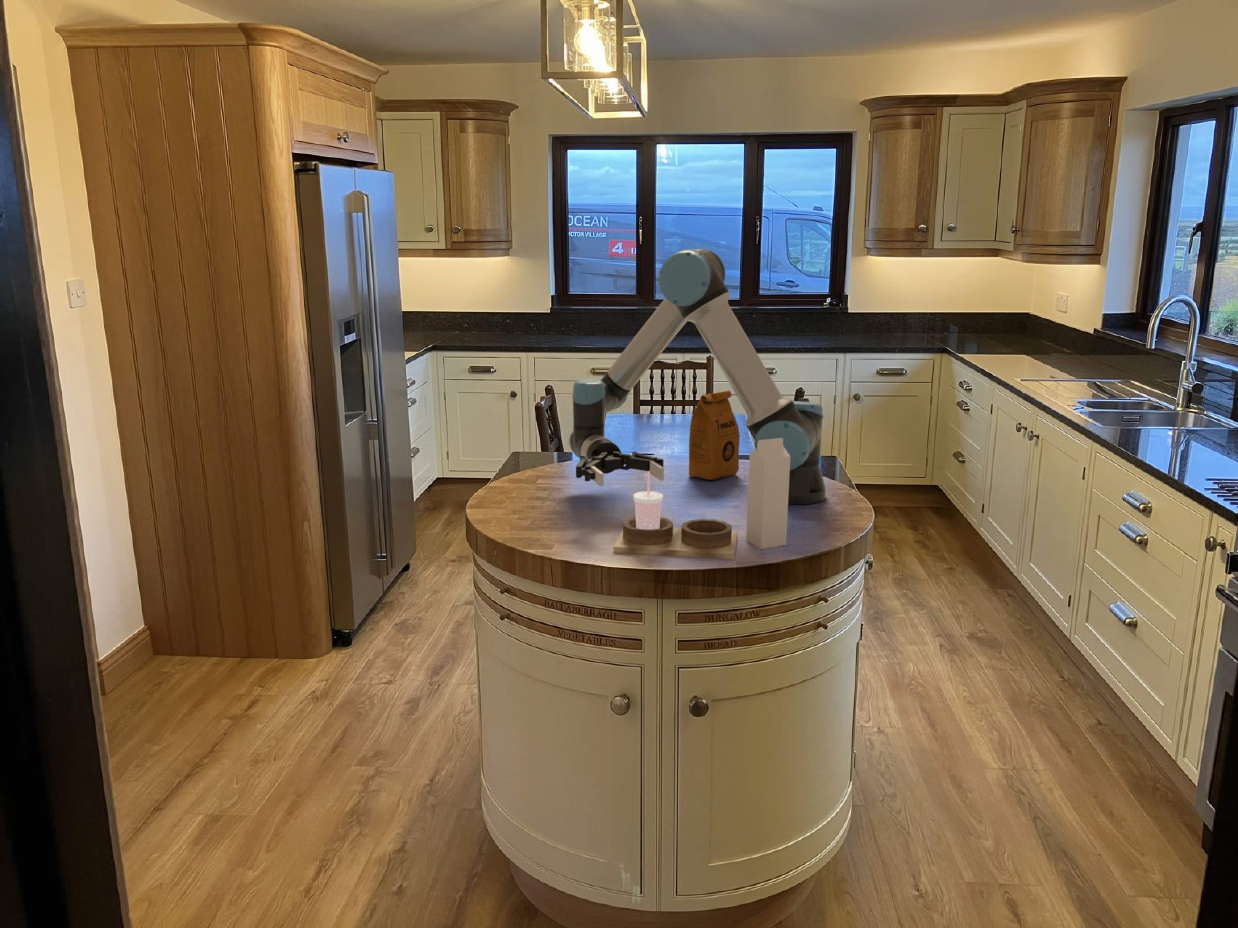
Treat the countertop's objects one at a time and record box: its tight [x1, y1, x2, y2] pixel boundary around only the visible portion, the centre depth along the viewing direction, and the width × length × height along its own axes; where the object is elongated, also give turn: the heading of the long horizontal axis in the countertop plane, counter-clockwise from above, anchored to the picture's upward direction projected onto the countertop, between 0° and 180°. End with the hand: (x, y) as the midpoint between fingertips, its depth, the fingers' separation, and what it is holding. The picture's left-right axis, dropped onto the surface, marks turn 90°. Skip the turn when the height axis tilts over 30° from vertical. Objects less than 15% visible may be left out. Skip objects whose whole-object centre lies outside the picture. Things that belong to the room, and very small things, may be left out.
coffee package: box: [688, 389, 741, 481], centre depth 250 cm, size 10×12×22 cm
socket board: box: [613, 516, 738, 560], centre depth 200 cm, size 24×14×4 cm, turn 81°
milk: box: [745, 438, 790, 550], centre depth 199 cm, size 6×6×22 cm
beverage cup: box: [633, 471, 664, 530], centre depth 199 cm, size 6×6×14 cm
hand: (632, 477), depth 208 cm, fingers open, 13 cm apart
